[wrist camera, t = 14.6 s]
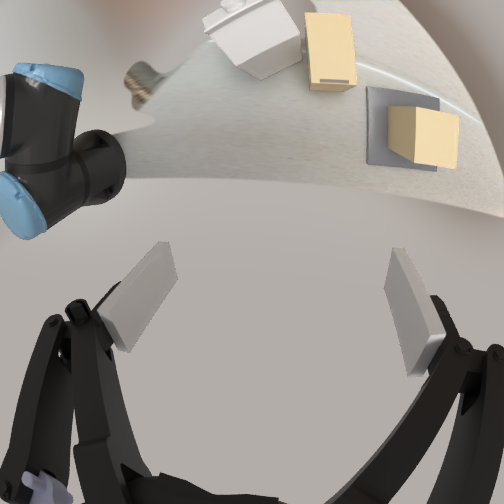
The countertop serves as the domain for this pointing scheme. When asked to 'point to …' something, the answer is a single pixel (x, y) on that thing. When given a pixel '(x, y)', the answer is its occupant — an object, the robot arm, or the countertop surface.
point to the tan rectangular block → (423, 135)
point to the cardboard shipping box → (330, 52)
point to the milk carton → (255, 35)
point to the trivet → (379, 125)
